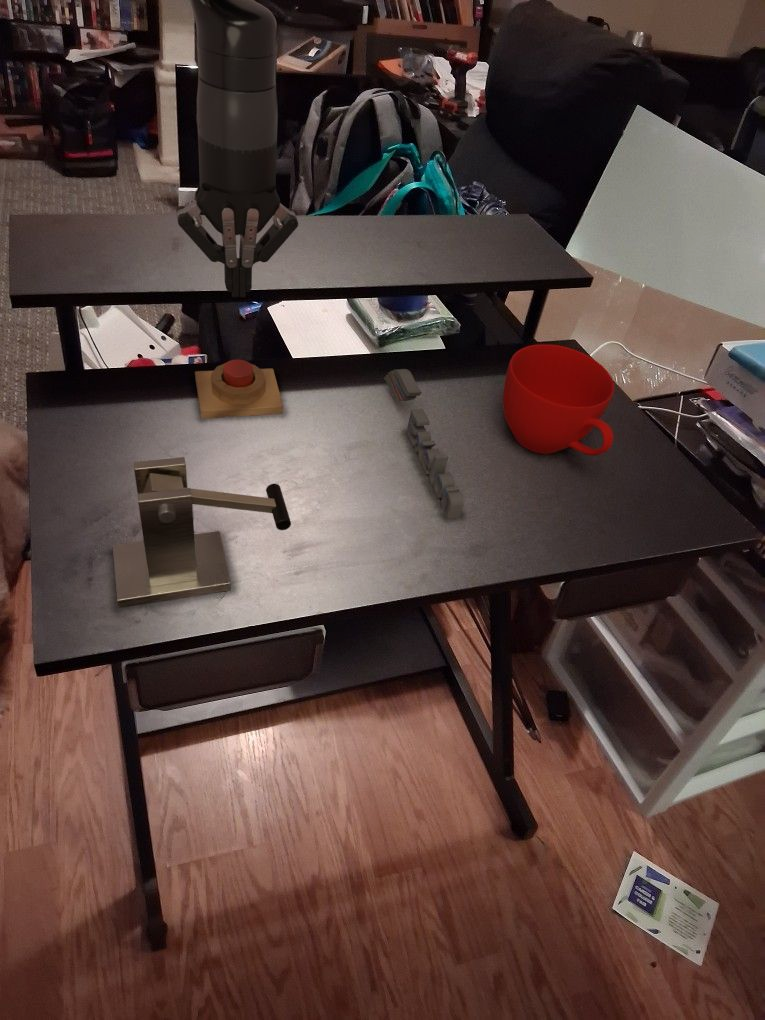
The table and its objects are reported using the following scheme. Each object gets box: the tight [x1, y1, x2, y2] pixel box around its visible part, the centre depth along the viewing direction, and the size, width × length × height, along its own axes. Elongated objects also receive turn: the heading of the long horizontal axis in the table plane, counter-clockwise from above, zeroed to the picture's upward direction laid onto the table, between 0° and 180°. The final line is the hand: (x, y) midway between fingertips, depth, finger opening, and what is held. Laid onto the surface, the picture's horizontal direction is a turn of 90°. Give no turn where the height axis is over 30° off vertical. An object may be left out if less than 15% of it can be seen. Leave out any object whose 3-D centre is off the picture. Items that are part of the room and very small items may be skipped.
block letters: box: [383, 368, 465, 520], centre depth 89 cm, size 25×2×6 cm, turn 17°
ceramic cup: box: [502, 343, 615, 456], centre depth 91 cm, size 13×17×10 cm
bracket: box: [112, 456, 232, 609], centre depth 68 cm, size 10×7×13 cm, turn 108°
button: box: [223, 359, 253, 387], centre depth 91 cm, size 4×4×2 cm
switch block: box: [194, 363, 284, 419], centre depth 92 cm, size 10×8×3 cm
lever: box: [143, 473, 292, 531], centre depth 67 cm, size 13×5×2 cm, turn 107°
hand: (238, 293), depth 83 cm, fingers closed
